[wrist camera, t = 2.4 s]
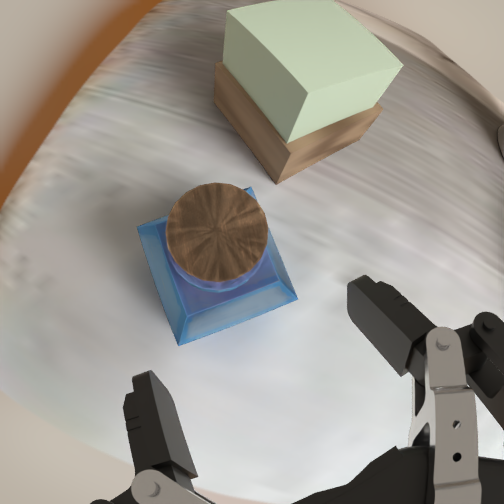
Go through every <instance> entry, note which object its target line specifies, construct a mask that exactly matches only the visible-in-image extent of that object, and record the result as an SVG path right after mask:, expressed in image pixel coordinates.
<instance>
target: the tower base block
mask: <svg viewBox="0 0 504 504" xmlns="http://www.w3.org/2000/svg"><path fill="white" fill-rule="evenodd" d="M222 63H223V60H222V61H220V62H217V63H215V84H214V103H215V104H216V105H217V107H218V108H219V109H220V111H221V112H222V113H223V114H224V116H225V117H226V118H227V120H228V121H229V122H230V123H231V125H232V126H233V127H234V129H235V130H236V131H237V133H238V134H239V135H240V136H241V138H242V139H243V140H244V142H245V143H246V144H247V146H248V147H249V148H250V150H251V151H252V152H253V154H254V155H255V156H256V158H257V159H258V160H259V162H260V163H261V165H262V166H263V167H264V169H265V170H266V171H267V173H268V174H269V176H270V177H271V178H272V180H273V181H274V182H275V184H276V185H277V184H278V183H280V182H282V181H284V180H285V179H287V178H289V177H291V176H293V175H294V174H296V173H298V172H300V171H302V170H304V169H305V168H307V167H309V166H311V165H313V164H315V163H316V162H318V161H320V160H322V159H324V158H326V157H328V156H329V155H331V154H333V153H335V152H337V151H339V150H341V149H343V148H344V147H346V146H348V145H350V144H352V143H354V142H356V141H358V140H359V139H360V138H361V137H362V136H363V134H364V133H365V132H366V131H367V129H368V128H369V127H370V126H371V124H372V123H373V122H374V120H375V119H376V118H377V117H378V115H379V114H380V113H381V112H382V110H383V108H382V107H381V106H380V105H379V103H378V102H376V104H375V105H374V106H373V107H372V108H370V109H367V110H365V111H362V112H359V113H357V114H354V115H352V116H350V117H347V118H345V119H342V120H340V121H337V122H335V123H333V124H330V125H328V126H326V127H323V128H321V129H319V130H316V131H314V132H312V133H309V134H307V135H305V136H303V137H300V138H298V139H296V140H294V141H291V142H289V143H286V142H285V141H284V139H283V138H282V137H281V135H280V134H279V133H278V131H277V130H276V129H275V127H274V126H273V125H272V124H271V122H270V121H269V120H268V118H267V117H266V116H265V115H264V113H263V112H262V111H261V109H260V108H259V107H258V106H257V104H256V103H255V102H254V101H253V99H252V98H251V97H250V96H249V95H248V93H247V92H246V91H245V90H244V88H243V87H242V86H241V85H240V84H239V82H238V81H237V80H236V79H235V78H234V76H233V75H232V74H231V73H230V72H229V71H228V69H227V68H226V67H225V66H224V65H223V64H222Z"/></svg>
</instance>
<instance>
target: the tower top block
mask: <svg viewBox="0 0 504 504" xmlns="http://www.w3.org/2000/svg"><path fill="white" fill-rule="evenodd" d="M222 64H223V65H224V66H225V67H226V68H227V69H228V71H229V72H230V73H231V74H232V75H233V76H234V78H235V79H236V80H237V81H238V82H239V84H240V85H241V86H242V87H243V88H244V90H245V91H246V92H247V93H248V95H249V96H250V97H251V98H252V99H253V101H254V102H255V103H256V104H257V106H258V107H259V108H260V109H261V111H262V112H263V113H264V115H265V116H266V117H267V118H268V120H269V121H270V122H271V124H272V125H273V126H274V127H275V129H276V130H277V131H278V133H279V134H280V135H281V137H282V138H283V139H284V141H285V142H286V143H289V142H291V141H294V140H296V139H298V138H300V137H303V136H305V135H307V134H309V133H312V132H314V131H316V130H319V129H321V128H323V127H326V126H328V125H330V124H333V123H335V122H337V121H340V120H342V119H345V118H347V117H350V116H352V115H354V114H357V113H359V112H362V111H365V110H367V109H370V108H372V107H373V106H374V105H375V104H376V102H377V101H378V99H379V98H380V97H381V95H382V94H383V93H384V91H385V90H386V89H387V87H388V86H389V84H390V83H391V82H392V80H393V79H394V77H395V76H396V75H397V73H398V72H399V71H400V69H401V68H402V66H403V64H402V63H401V62H400V61H399V60H398V59H397V58H396V57H395V56H394V55H393V54H392V53H391V52H390V51H389V50H388V49H387V48H386V47H385V46H384V45H383V44H382V43H381V42H380V41H379V40H378V39H377V38H376V37H375V36H374V35H373V34H372V33H371V32H370V31H368V30H367V29H366V28H365V27H364V26H363V25H362V24H361V23H360V22H358V21H357V20H356V19H355V18H354V17H353V16H351V15H350V14H349V13H348V12H347V11H345V10H344V9H343V8H342V7H340V6H339V5H338V4H337V3H335V2H334V1H333V0H276V1H270V2H265V3H259V4H254V5H249V6H245V7H240V8H236V9H231V10H227V15H226V26H225V38H224V50H223V63H222Z"/></svg>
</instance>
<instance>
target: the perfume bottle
mask: <svg viewBox="0 0 504 504" xmlns="http://www.w3.org/2000/svg"><path fill="white" fill-rule="evenodd" d="M137 229H138V233H139V236H140V239H141V242H142V246H143V249H144V252H145V255H146V258H147V261H148V264H149V267H150V270H151V273H152V276H153V279H154V282H155V285H156V288H157V291H158V294H159V296H160V299H161V302H162V305H163V307H164V310H165V313H166V316H167V318H168V321H169V324H170V326H171V329H172V331H173V334H174V337H175V339H176V342H177V344H178V346H180V345H183V344H186V343H189V342H191V341H194V340H197V339H199V338H202V337H205V336H207V335H210V334H213V333H215V332H218V331H221V330H223V329H226V328H228V327H231V326H234V325H236V324H239V323H241V322H244V321H246V320H249V319H251V318H254V317H256V316H259V315H261V314H264V313H266V312H269V311H271V310H274V309H276V308H278V307H281V306H283V305H286V304H288V303H290V302H293V301H295V300H297V299H298V298H297V295H296V293H295V291H294V288H293V286H292V283H291V281H290V278H289V276H288V273H287V271H286V268H285V266H284V264H283V261H282V259H281V256H280V254H279V252H278V249H277V247H276V244H275V242H274V239H273V237H272V235H271V232H270V230H269V228H268V225H267V221H266V217H265V213H264V212H263V210H262V208H261V207H260V205H259V204H258V202H257V199H256V197H255V194H254V192H253V190H252V187H249V188H246V189H240V188H238V187H236V186H233V185H231V184H224V183H210V184H204V185H200V186H198V187H196V188H194V189H192V190H190V191H188V192H186V193H185V194H184V195H183V196H182V197H181V198H180V199H179V200H178V201H177V202H176V203H175V204H174V206H173V208H172V210H171V212H170V214H169V215H167V216H164V217H162V218H159V219H156V220H153V221H151V222H148V223H145V224H143V225H140V226H138V227H137Z"/></svg>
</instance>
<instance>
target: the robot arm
mask: <svg viewBox="0 0 504 504" xmlns="http://www.w3.org/2000/svg"><path fill="white" fill-rule="evenodd" d="M498 142H499V146H500V149H501V152H502V155H503V157H504V124H503V125H502V126H501V127H499V129H498ZM347 310H348V314H349V316H350V318H351V320H352V322H353V323H354V324H355V325H356V326H357V327H358V328H359V330H360V331H361V332H362V333H363V334H364V335H365V336H366V338H367V339H368V340H369V341H370V342H371V343H372V344H373V345H374V347H375V348H376V349H377V350H378V351H379V352H380V353H381V355H382V356H383V357H384V358H385V359H386V360H387V361H388V363H389V364H390V365H391V366H392V367H393V368H394V370H395V371H396V372H397V373H398V374H399V375H400V376H401V377H402V376H403V375H405V374H406V373H407V372H410V373H411V374H412V421H411V426H410V430H409V436H408V447H405V448H401V449H397V447H396V446H395V447H393V448H392V449H390V450H389V451H387V452H386V453H384V454H383V455H381V456H380V457H378V458H376V459H375V460H373V461H372V462H370V463H369V464H368V465H367V466H366V467H365V468H364V469H363V470H362V471H361V472H360V473H359V474H358V475H357V476H356V477H355V478H354V479H353V480H352V481H351V482H349V483H348V484H346V485H343V486H340V487H336V488H332V489H328V490H325V491H321V492H317V493H314V494H312V495H310V496H308V497H305V498H303V499H301V500H299V501H297V502H294V503H292V504H504V460H501V459H493V458H486V457H479V456H478V431H477V415H476V403H475V394H476V395H477V396H478V398H479V399H480V400H481V401H482V403H483V404H484V405H485V406H486V408H487V409H488V410H489V412H490V413H491V414H492V415H493V417H494V418H495V419H496V421H497V422H498V423H499V424H500V426H501V427H502V428H503V430H504V322H503V321H502V320H501V319H500V318H499V317H498V316H496V315H495V314H493V313H490V312H481V313H479V314H478V315H477V316H476V317H475V319H474V321H473V323H472V324H470V325H467V326H465V327H462V328H459V329H456V330H452V329H450V328H447V327H437V326H435V325H434V324H433V323H432V322H431V321H430V320H429V319H428V318H427V317H426V316H425V315H423V314H422V313H421V312H420V311H419V310H418V309H417V308H416V307H415V306H414V305H413V304H412V303H411V302H408V300H407V299H406V298H405V297H404V296H402V295H401V293H400V292H398V291H397V290H396V289H395V288H394V287H393V286H391V285H389V284H386V283H384V282H382V281H380V282H378V283H375V282H374V281H373V280H372V279H371V278H370V277H368V276H367V275H363V276H361V277H359V278H357V279H355V280H353V281H351V282H349V283H348V285H347ZM491 361H492V362H493V363H492V362H491ZM499 370H500V371H499ZM132 383H133V389H134V392H132V393H129V394H126V397H125V401H124V405H123V411H124V417H125V421H126V428H127V431H128V439H129V444H130V448H131V453H132V458H133V462H134V467H135V478H134V479H133V482H132V485H131V486H130V488H129V489H128V490H126V491H125V492H123V493H122V494H120V495H119V496H117V497H115V498H114V499H113V500H111V501H107V500H102V499H99V500H95V501H93V502H92V503H90V504H217V503H215V502H213V501H212V500H210V499H208V498H207V497H205V496H203V495H202V494H200V493H198V492H197V491H195V490H194V488H193V485H192V483H191V480H190V479H193V478H196V477H198V475H197V472H196V469H195V466H194V464H193V461H192V458H191V455H190V452H189V449H188V446H187V443H186V440H185V437H184V434H183V431H182V427H181V424H180V421H179V418H178V414H177V411H176V408H175V404H174V401H173V399H172V397H171V395H170V393H169V391H168V390H167V388H166V387H165V386H164V385H163V384H162V382H161V381H160V380H159V379H158V377H157V376H156V375H155V374H154V373H153V371H151V370H149V371H147V372H144V373H141V374H139V375H136V376H133V377H132ZM467 384H468V385H469V387H468V386H467ZM474 393H475V394H474ZM503 446H504V443H503Z"/></svg>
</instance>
